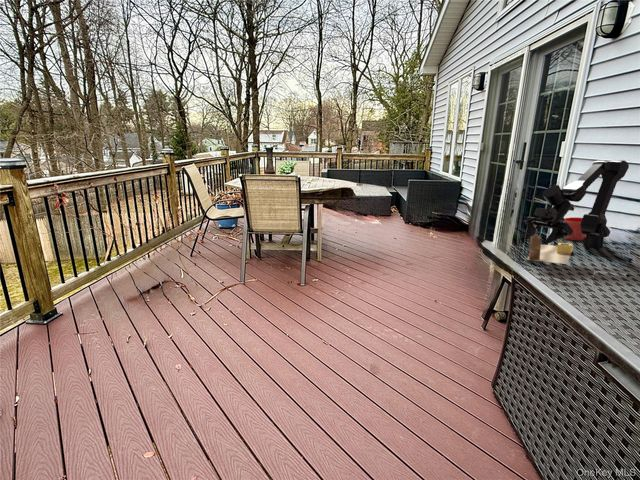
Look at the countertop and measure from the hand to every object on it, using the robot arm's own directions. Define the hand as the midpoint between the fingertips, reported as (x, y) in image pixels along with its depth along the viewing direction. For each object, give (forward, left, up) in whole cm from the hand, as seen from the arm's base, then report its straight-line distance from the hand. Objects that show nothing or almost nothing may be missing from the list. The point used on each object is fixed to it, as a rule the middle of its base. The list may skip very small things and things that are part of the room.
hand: (534, 241), depth 142 cm
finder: (-9, -15, -7) cm, 19 cm away
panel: (-5, -11, -8) cm, 15 cm away
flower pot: (-11, -45, -9) cm, 47 cm away
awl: (0, 0, -7) cm, 8 cm away
